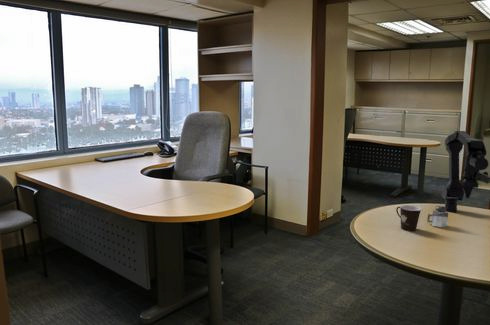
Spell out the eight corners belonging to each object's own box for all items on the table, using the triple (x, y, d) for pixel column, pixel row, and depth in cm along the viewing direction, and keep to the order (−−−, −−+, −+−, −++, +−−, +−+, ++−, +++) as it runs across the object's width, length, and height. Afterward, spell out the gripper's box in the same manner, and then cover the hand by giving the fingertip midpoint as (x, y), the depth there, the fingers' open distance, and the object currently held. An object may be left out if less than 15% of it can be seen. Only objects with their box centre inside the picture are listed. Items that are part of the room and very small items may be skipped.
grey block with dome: (427, 221, 192) (428, 209, 191) (446, 224, 188) (448, 212, 187) (426, 225, 186) (428, 213, 185) (446, 229, 182) (448, 216, 181)
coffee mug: (421, 232, 177) (424, 211, 175) (402, 231, 177) (404, 210, 175) (411, 223, 189) (413, 203, 187) (393, 223, 189) (395, 203, 187)
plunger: (433, 221, 190) (435, 205, 189) (445, 223, 188) (447, 206, 186) (433, 224, 186) (434, 207, 184) (444, 226, 183) (447, 209, 182)
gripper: (493, 171, 177) (488, 205, 179) (489, 164, 193) (485, 195, 196) (464, 168, 182) (460, 201, 184) (463, 162, 198) (459, 192, 201)
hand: (467, 197), depth 191 cm, fingers closed
